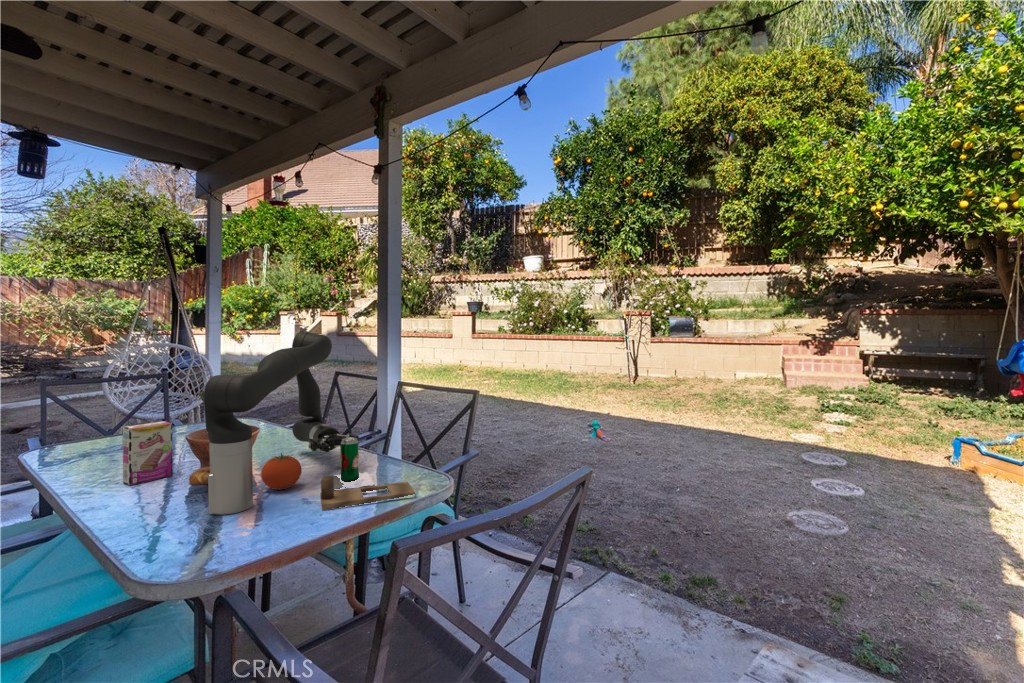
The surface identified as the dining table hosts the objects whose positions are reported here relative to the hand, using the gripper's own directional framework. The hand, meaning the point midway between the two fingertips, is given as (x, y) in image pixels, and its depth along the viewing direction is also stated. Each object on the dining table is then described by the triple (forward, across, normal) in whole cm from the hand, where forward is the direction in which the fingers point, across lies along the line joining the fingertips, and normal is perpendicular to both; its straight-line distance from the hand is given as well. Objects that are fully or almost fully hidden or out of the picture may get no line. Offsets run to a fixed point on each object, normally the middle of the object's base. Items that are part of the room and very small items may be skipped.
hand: (342, 446), depth 148 cm
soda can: (+6, 0, +9) cm, 11 cm away
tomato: (0, -17, +9) cm, 20 cm away
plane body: (+22, -1, +9) cm, 24 cm away
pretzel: (-21, -31, +10) cm, 39 cm away
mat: (+6, 0, +9) cm, 11 cm away
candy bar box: (-32, -46, +9) cm, 57 cm away
